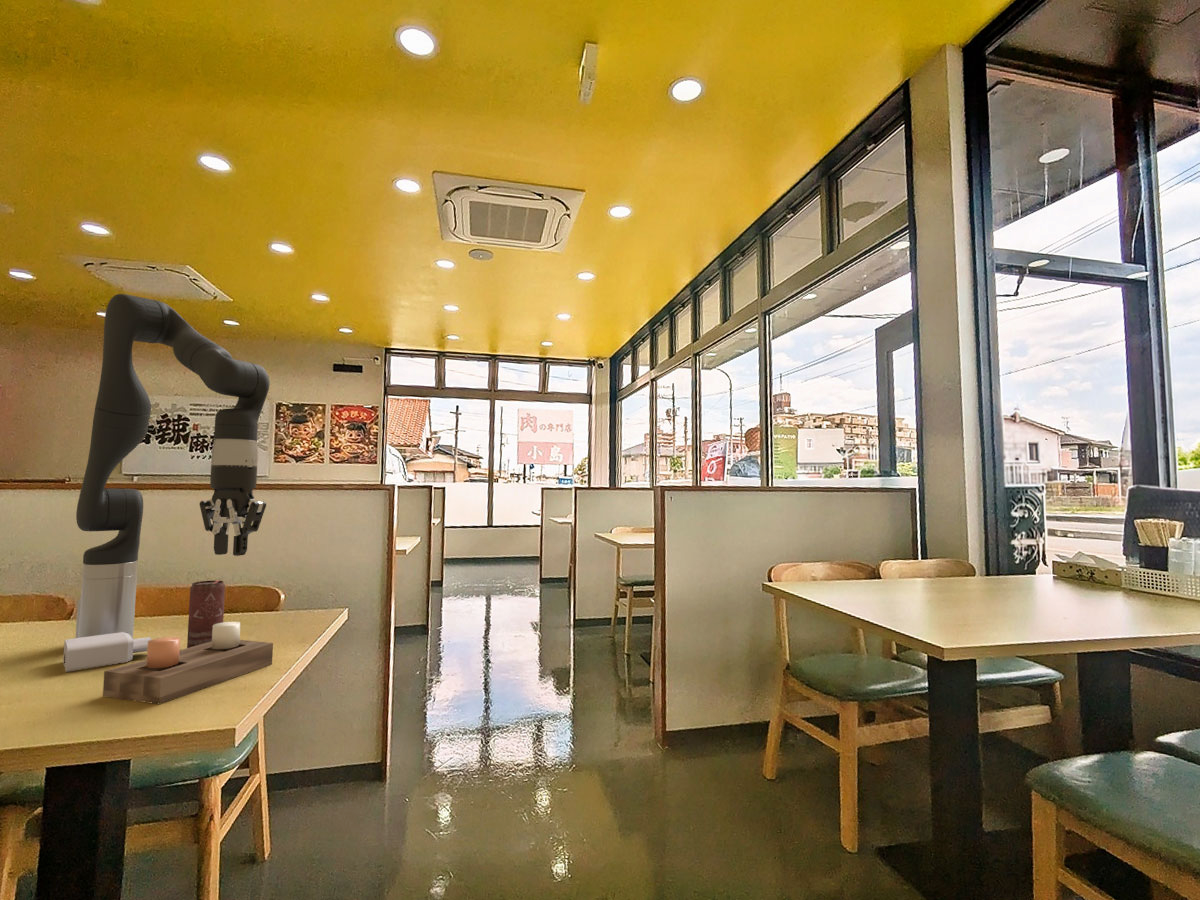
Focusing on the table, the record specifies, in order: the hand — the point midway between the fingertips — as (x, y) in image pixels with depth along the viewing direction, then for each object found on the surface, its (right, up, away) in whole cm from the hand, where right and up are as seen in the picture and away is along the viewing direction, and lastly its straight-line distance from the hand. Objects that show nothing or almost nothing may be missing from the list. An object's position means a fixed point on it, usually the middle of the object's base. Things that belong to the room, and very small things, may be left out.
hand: (230, 554), depth 112 cm
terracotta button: (-3, -16, -13) cm, 21 cm away
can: (-12, -22, +11) cm, 28 cm away
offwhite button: (0, -17, -1) cm, 17 cm away
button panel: (-2, -21, -7) cm, 22 cm away
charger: (-25, -22, +4) cm, 33 cm away
